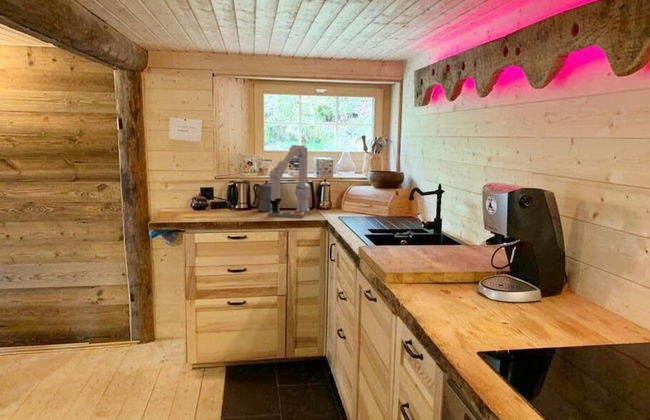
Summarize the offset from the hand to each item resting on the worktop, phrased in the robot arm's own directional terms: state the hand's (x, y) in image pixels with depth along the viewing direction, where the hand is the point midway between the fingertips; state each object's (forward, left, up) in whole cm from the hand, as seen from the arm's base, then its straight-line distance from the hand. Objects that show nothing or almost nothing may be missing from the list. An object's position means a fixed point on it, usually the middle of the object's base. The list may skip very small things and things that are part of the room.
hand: (275, 210), depth 303 cm
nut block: (0, 0, -3) cm, 3 cm away
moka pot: (-14, -11, -3) cm, 19 cm away
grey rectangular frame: (0, +7, -3) cm, 8 cm away
